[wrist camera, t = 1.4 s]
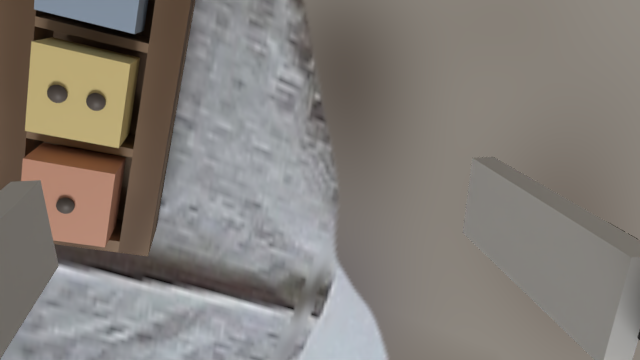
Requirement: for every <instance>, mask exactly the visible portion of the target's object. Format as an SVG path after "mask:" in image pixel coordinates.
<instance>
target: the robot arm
mask: <svg viewBox="0 0 640 360" xmlns="http://www.w3.org/2000/svg"><path fill="white" fill-rule="evenodd" d="M463 233H464V234H465V235H466V236H467V237H468V238H469V239H470V240H471V241H472V242H473V243H474V244H475V245H476V246H477V247H478V248H479V249H480V250H481V251H482V252H483V253H484V254H485V255H486V256H487V257H488V258H489V259H490V260H491V261H493V262H494V263H495V264H496V265H497V266H498V267H499V268H500V269H501V270H502V271H503V272H504V273H505V274H506V275H507V276H508V277H509V278H510V279H511V280H512V281H513V282H514V283H515V284H516V285H517V286H518V287H519V288H521V289H522V290H523V291H524V292H525V293H526V294H527V295H528V296H529V297H530V298H531V299H532V300H533V301H534V302H535V303H536V304H537V305H538V306H539V307H541V309H542V310H543V311H544V312H545V313H546V314H547V315H548V316H550V317H551V318H552V319H553V320H554V321H555V322H556V323H557V324H558V325H559V326H560V327H561V328H562V329H563V330H564V331H565V332H566V333H567V334H568V335H569V336H570V337H571V338H572V339H573V340H574V341H576V343H578V344H579V345H580V346H581V347H582V348H583V349H584V350H585V351H586V352H587V353H588V354H589V355H590V356H591V357H592V358H593V359H594V360H632V359H633V356H634V352H635V349H636V346H637V342H638V339H639V340H640V240H638V239H637V238H635V237H633V236H632V235H630V234H627V233H626V232H625V231H623V230H621V229H619V228H618V227H616V226H614V225H612V224H611V223H609V222H607V221H605V220H603V219H601V218H600V217H598V216H596V215H594V214H592V213H591V212H589V211H587V210H586V209H584V208H582V207H580V206H579V205H577V204H575V203H573V202H571V201H570V200H568V199H566V198H564V197H563V196H561V195H559V194H558V193H556V192H554V191H552V190H551V189H549V188H547V187H545V186H544V185H542V184H540V183H538V182H537V181H535V180H533V179H531V178H530V177H528V176H526V175H524V174H523V173H521V172H519V171H517V170H516V169H514V168H512V167H511V166H509V165H507V164H505V163H503V162H502V161H500V160H498V159H496V158H495V157H482V158H473V159H472V165H471V174H470V181H469V189H468V197H467V204H466V212H465V220H464V227H463ZM57 268H58V261H57V256H56V251H55V247H54V242H53V237H52V232H51V227H50V223H49V218H48V213H47V208H46V204H45V199H44V194H43V189H42V185H41V180H35V181H16V182H10V183H9V184H7V185H6V186H5V187H4V188H3V189H1V190H0V359H1V357H2V355H3V354H4V352H5V351H6V349H7V347H8V346H9V344H10V343H11V341H12V339H13V338H14V336H15V335H16V333H17V331H18V330H19V328H20V327H21V325H22V323H23V322H24V320H25V319H26V317H27V315H28V314H29V312H30V311H31V309H32V307H33V306H34V304H35V303H36V301H37V299H38V298H39V296H40V295H41V293H42V291H43V290H44V288H45V287H46V285H47V284H48V282H49V280H50V279H51V277H52V276H53V274H54V272H55V271H56V269H57Z"/></svg>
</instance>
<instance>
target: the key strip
mask: <svg viewBox="0 0 640 360" xmlns="http://www.w3.org/2000/svg"><path fill="white" fill-rule="evenodd" d="M194 5H195V0H148V6H147V13H146V20H145V27H144V31H142V32H139V33H136V34H132V33H128V32H124V31H120V30H116V29H112V28H108V27H104V26H100V25H96V24H92V23H87V22H83V21H79V20H75V19H71V18H67V17H63V16H59V15H55V14H51V13H47V12H43V11H39V10H35V9H34V0H0V190H1V189H3V188H4V187H5V186H6V185H7V184H9V183H10V182H16V181H21V175H22V162H23V158H24V157H25V156H27V155H28V154H29V153H30V152H32V151H33V150H34V149H36V148H37V147H38V146H39V145H41V144H42V143H49V144H54V145H60V146H65V147H71V148H76V149H82V150H87V151H93V152H98V153H104V154H109V155H115V156H120V157H126V160H125V167H124V174H123V181H122V188H121V195H120V202H119V209H118V216H117V223H116V226H115V228H114V230H113V232H112V234H111V236H110V238H109V241H108V243H107V245H106V247H99V246H91V245H84V244H76V243H69V242H61V241H54V240H53V242H54V244H58V245H66V246H73V247H81V248H88V249H96V250H103V251H111V252H119V253H126V254H134V255H141V256H148V254H149V251H150V248H151V244H152V241H153V238H154V234H155V231H156V227H157V221H158V215H159V209H160V203H161V197H162V191H163V186H164V180H165V174H166V168H167V162H168V156H169V151H170V145H171V139H172V133H173V127H174V121H175V116H176V110H177V104H178V98H179V92H180V86H181V81H182V75H183V69H184V63H185V57H186V51H187V46H188V40H189V34H190V28H191V22H192V16H193V11H194ZM51 37H54V38H58V39H62V40H67V41H71V42H75V43H79V44H84V45H88V46H92V47H96V48H101V49H105V50H109V51H113V52H118V53H122V54H126V55H130V56H135V57H139V58H140V62H139V69H138V76H137V83H136V90H135V97H134V104H133V111H132V118H131V125H130V132H129V135H128V136H127V138H126V139H125V140H124V142H123V143H122V144H121V146H120V147H119V148H115V147H109V146H104V145H99V144H93V143H88V142H83V141H77V140H72V139H66V138H61V137H56V136H50V135H45V134H40V133H34V132H29V131H25V122H26V108H27V95H28V81H29V68H30V54H31V41H36V40H41V39H46V38H51Z"/></svg>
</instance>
